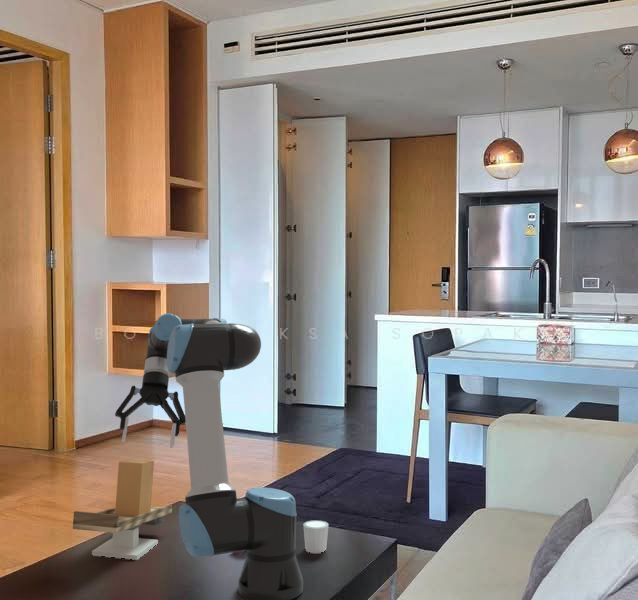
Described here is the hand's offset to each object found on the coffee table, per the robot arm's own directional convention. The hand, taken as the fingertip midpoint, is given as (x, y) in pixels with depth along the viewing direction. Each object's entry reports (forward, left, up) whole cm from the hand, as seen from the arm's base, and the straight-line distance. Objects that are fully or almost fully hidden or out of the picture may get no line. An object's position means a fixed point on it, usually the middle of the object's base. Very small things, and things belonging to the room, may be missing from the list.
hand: (148, 443), depth 205 cm
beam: (-12, +1, -21) cm, 24 cm away
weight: (-8, +1, -18) cm, 19 cm away
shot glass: (+1, -49, -26) cm, 56 cm away
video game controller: (-3, -31, -27) cm, 41 cm away
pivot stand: (-12, +1, -26) cm, 29 cm away
